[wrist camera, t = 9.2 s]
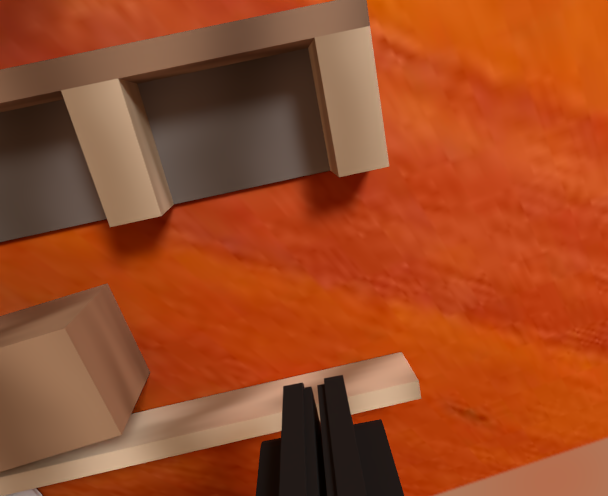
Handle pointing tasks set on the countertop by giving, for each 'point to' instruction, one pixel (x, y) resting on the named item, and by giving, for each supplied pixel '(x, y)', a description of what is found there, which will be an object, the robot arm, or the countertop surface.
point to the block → (66, 376)
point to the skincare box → (26, 493)
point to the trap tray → (193, 177)
